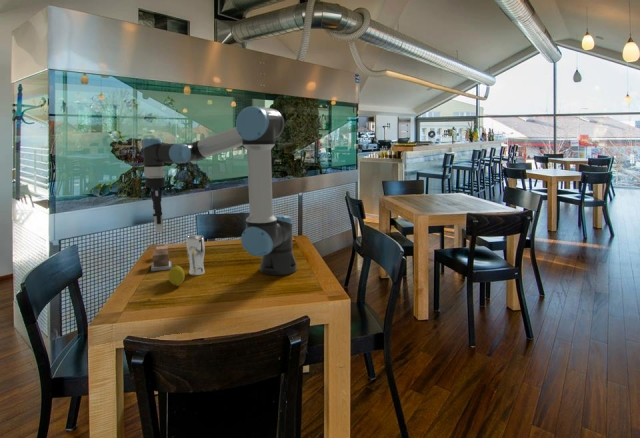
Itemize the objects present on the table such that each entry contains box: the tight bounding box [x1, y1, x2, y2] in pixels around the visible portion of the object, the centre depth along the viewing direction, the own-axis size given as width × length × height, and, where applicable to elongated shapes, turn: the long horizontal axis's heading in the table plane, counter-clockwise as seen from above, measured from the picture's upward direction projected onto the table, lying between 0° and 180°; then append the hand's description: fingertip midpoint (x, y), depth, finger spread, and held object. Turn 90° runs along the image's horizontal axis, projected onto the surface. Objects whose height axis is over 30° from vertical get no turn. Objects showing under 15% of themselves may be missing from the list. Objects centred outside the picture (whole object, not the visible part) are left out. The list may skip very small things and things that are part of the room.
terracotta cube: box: [155, 245, 170, 259], centre depth 191 cm, size 5×5×5 cm
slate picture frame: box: [150, 260, 173, 272], centre depth 179 cm, size 9×8×1 cm
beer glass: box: [186, 234, 206, 276], centre depth 170 cm, size 7×7×15 cm
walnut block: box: [152, 250, 170, 267], centre depth 178 cm, size 6×6×5 cm
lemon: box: [168, 265, 186, 287], centre depth 156 cm, size 6×6×8 cm
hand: (158, 228), depth 176 cm, fingers open, 13 cm apart
